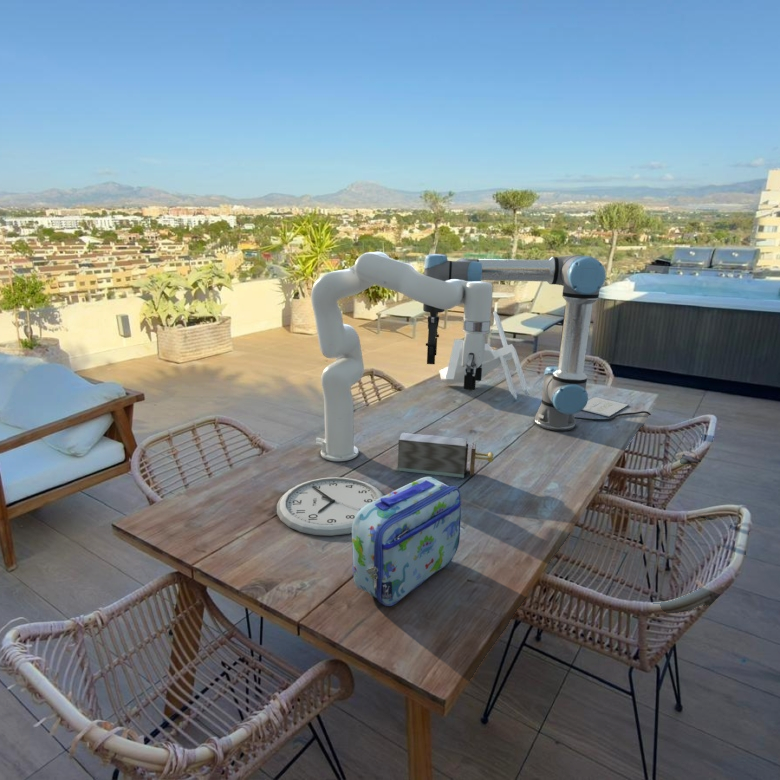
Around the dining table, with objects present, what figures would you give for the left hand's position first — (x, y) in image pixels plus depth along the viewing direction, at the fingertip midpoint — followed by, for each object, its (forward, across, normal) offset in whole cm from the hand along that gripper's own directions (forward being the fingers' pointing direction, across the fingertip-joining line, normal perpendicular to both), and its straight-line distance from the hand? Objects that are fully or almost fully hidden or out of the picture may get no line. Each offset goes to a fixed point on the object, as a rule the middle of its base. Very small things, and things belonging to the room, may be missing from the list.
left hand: (472, 384), depth 152 cm
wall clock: (+30, +31, -31) cm, 53 cm away
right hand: (+2, -33, -21) cm, 39 cm away
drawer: (+29, -1, -5) cm, 29 cm away
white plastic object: (+30, -87, -11) cm, 93 cm away
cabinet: (+30, 0, -11) cm, 32 cm away
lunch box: (+30, +53, -2) cm, 61 cm away
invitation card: (+30, -87, +42) cm, 101 cm away
